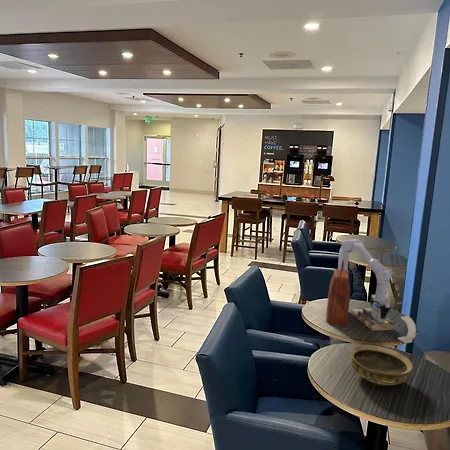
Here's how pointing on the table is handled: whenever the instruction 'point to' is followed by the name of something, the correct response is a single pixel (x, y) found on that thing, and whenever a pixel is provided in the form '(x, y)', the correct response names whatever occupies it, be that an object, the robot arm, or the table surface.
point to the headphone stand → (410, 330)
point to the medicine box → (377, 312)
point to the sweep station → (372, 321)
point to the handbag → (338, 298)
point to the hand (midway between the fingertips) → (378, 315)
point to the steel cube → (367, 312)
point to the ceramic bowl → (380, 364)
